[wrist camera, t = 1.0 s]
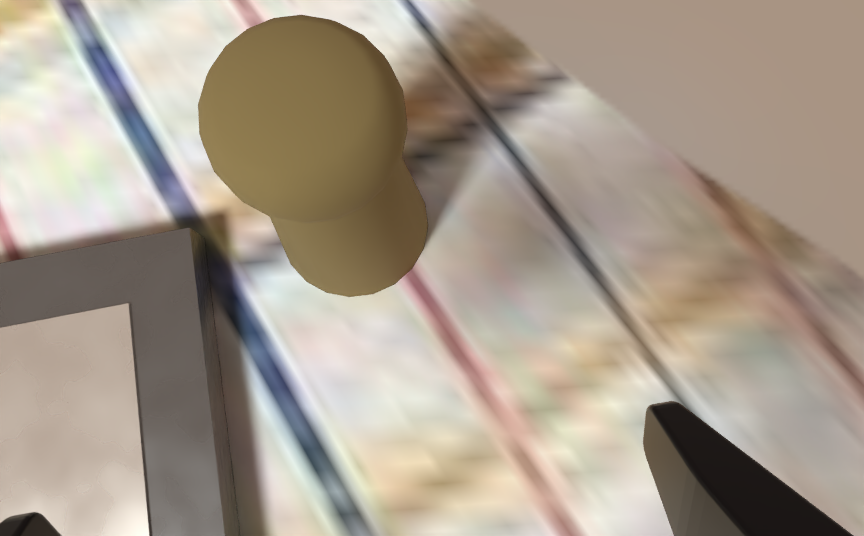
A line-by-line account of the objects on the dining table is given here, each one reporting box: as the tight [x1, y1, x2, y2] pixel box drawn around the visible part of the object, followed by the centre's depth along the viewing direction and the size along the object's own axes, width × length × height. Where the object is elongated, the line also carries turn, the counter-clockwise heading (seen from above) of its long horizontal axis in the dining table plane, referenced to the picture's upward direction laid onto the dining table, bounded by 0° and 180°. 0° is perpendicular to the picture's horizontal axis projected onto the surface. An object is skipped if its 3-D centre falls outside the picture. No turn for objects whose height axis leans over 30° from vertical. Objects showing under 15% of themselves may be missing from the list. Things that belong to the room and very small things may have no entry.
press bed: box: [0, 228, 240, 536], centre depth 22 cm, size 14×14×2 cm
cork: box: [198, 15, 428, 297], centre depth 19 cm, size 6×6×11 cm
